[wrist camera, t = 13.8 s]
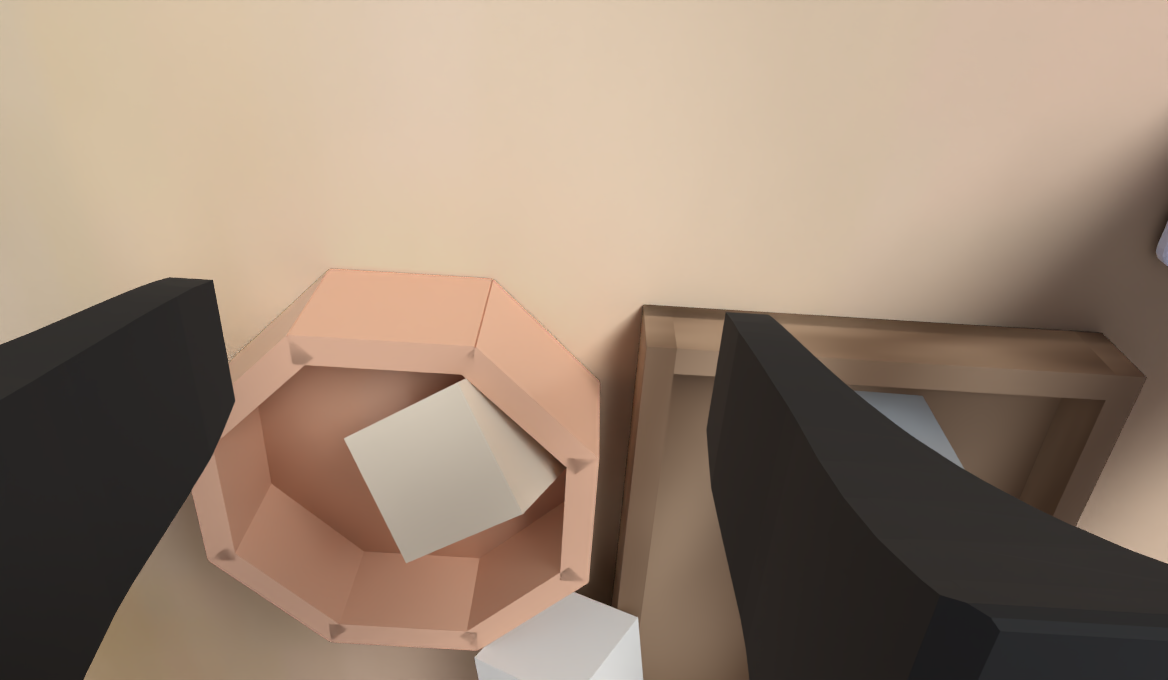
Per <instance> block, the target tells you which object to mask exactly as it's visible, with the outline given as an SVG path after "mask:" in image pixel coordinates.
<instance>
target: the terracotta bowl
mask: <svg viewBox="0 0 1168 680" xmlns="http://www.w3.org/2000/svg"><path fill="white" fill-rule="evenodd" d="M229 369H230V374H231V380H232V385H233V390H234V396H235V403H234V406H233V408H232V411H231V413H230V416H229V418H228V421H227V423H226V426H225V428H224V431H223V433H222V435H221V437H220V440H219V442H218V444H217V446H216V448H215V451H214V453H213V455H212V457H211V459H210V461H209V462H208V464H207V466H206V468H205V469H204V471H203V473H202V474H201V476H200V477H199V479H198V481H197V482H196V484H195V485H194V487H193V489H192V490H191V491H192V495H193V500H194V504H195V508H196V512H197V517H198V521H199V525H200V529H201V534H202V538H203V542H204V546H205V551H206V555H207V559H208V560H209V562H211V563H212V564H214V565H215V566H217V567H218V568H220V569H221V570H223V571H224V572H226V573H227V574H229V575H230V576H232V577H233V578H235V579H236V580H238V581H239V582H241V583H242V584H244V585H245V586H247V587H248V588H250V589H251V590H253V591H254V592H256V593H257V594H259V595H260V596H262V597H263V598H265V599H266V600H268V601H269V602H271V603H272V604H274V605H275V606H277V607H278V608H280V609H281V610H283V611H284V612H286V613H287V614H289V615H290V616H292V617H293V618H295V619H296V620H298V621H299V622H301V623H302V624H304V625H305V626H307V627H308V628H310V629H311V630H313V631H314V632H316V633H317V634H319V635H320V636H322V637H323V638H325V639H326V640H328V641H329V642H330V641H331V642H335V643H352V644H369V645H387V646H404V647H422V648H439V649H456V650H474V651H477V650H480V649H482V648H484V647H485V646H487V645H488V644H490V643H492V642H493V641H495V640H497V639H498V638H500V637H501V636H503V635H505V634H506V633H508V632H509V631H511V630H513V629H514V628H516V627H518V626H519V625H521V624H522V623H524V622H526V621H527V620H529V619H531V618H532V617H534V616H535V615H537V614H539V613H540V612H542V611H544V610H545V609H547V608H548V607H550V606H552V605H553V604H555V603H557V602H558V601H560V600H561V599H563V598H565V597H566V596H568V595H570V594H571V593H573V592H574V591H576V590H578V589H579V588H581V587H583V586H584V585H586V584H587V583H588V582H589V573H590V561H591V550H592V538H593V526H594V515H595V503H596V491H597V480H598V468H599V431H600V381H599V380H598V379H597V378H596V377H595V376H594V375H593V374H592V373H591V372H589V371H588V370H587V369H586V368H585V367H584V366H583V365H582V364H581V363H580V362H579V361H578V360H577V359H576V358H575V357H574V356H573V355H572V354H571V353H570V352H569V351H568V350H567V349H566V348H564V347H563V346H562V345H561V344H560V343H559V342H558V341H557V340H556V339H555V338H554V337H553V336H552V335H551V334H550V333H549V332H548V331H547V330H546V329H545V328H544V327H543V326H542V325H541V324H540V323H538V322H537V321H536V320H535V319H534V318H533V317H532V316H531V315H530V314H529V313H528V312H527V311H526V310H525V309H524V308H523V307H522V306H521V305H520V304H519V303H518V302H517V301H516V300H515V299H513V298H512V297H511V296H510V295H509V294H508V293H507V292H506V291H505V290H504V289H503V288H502V287H501V286H500V285H499V284H498V283H497V282H496V281H495V280H494V279H493V280H492V279H489V278H473V277H457V276H441V275H425V274H409V273H393V272H377V271H360V270H344V269H330V270H328V271H326V272H325V273H324V274H323V275H322V276H321V277H320V278H319V279H318V280H317V281H316V282H315V283H314V284H312V285H311V286H310V287H309V288H308V289H307V290H306V291H305V292H304V293H303V294H302V295H301V296H300V297H298V298H297V299H296V300H295V301H294V302H293V303H292V304H291V305H290V306H289V307H288V308H287V309H286V310H284V311H283V312H282V313H281V314H280V315H279V316H278V317H277V318H276V319H275V320H274V321H273V322H272V323H270V324H269V325H268V326H267V327H266V328H265V329H264V330H263V331H262V332H261V333H260V334H259V335H257V336H256V337H255V338H254V339H253V340H252V341H251V342H250V343H249V344H248V345H247V346H246V347H245V348H243V349H242V350H241V351H240V352H239V353H238V354H237V355H236V356H235V357H234V358H233V359H232V360H231V361H230V363H229ZM464 379H467V380H468V381H469V382H471V383H472V384H473V385H474V386H475V387H476V388H477V389H478V390H480V391H481V392H482V393H483V394H484V395H485V396H486V397H487V398H489V399H490V400H491V401H492V402H493V403H494V404H495V405H497V406H498V407H499V408H500V409H501V410H502V411H503V412H504V413H506V414H507V415H508V416H509V417H510V418H511V419H512V420H514V421H515V422H516V423H517V424H518V425H519V426H520V427H521V428H523V429H524V430H525V431H526V432H527V433H528V434H529V435H530V436H532V437H533V438H534V439H535V440H536V441H537V442H538V443H540V444H541V445H542V446H543V447H544V448H545V449H546V450H547V451H549V452H550V453H551V454H552V455H553V456H554V457H555V458H557V459H558V460H559V461H560V462H561V463H562V464H563V465H564V466H565V467H566V469H565V470H564V471H563V472H562V473H561V474H560V475H559V476H558V477H557V478H556V480H555V481H554V482H553V483H552V484H551V485H550V486H549V487H548V488H547V489H546V490H545V491H544V492H543V493H542V494H541V495H540V496H539V497H538V498H537V500H536V501H535V502H534V503H533V504H532V505H531V506H530V507H529V508H528V509H527V510H526V511H525V512H524V513H523V514H521V515H519V516H517V517H514V518H512V519H510V520H507V521H505V522H502V523H500V524H498V525H495V526H493V527H491V528H488V529H486V530H484V531H481V532H479V533H476V534H474V535H472V536H469V537H467V538H465V539H462V540H460V541H458V542H455V543H453V544H450V545H448V546H446V547H443V548H441V549H439V550H436V551H434V552H432V553H429V554H427V555H424V556H422V557H420V558H417V559H415V560H413V561H410V562H408V563H406V562H405V560H404V558H403V556H402V554H401V552H400V550H399V548H398V546H397V544H396V542H395V540H394V538H393V536H392V534H391V532H390V530H389V528H388V526H387V524H386V522H385V520H384V518H383V516H382V514H381V512H380V510H379V508H378V506H377V504H376V502H375V500H374V498H373V496H372V494H371V492H370V490H369V488H368V486H367V484H366V482H365V480H364V478H363V476H362V474H361V472H360V470H359V468H358V466H357V464H356V462H355V460H354V458H353V456H352V454H351V452H350V450H349V448H348V446H347V444H346V442H345V440H344V438H346V437H348V436H350V435H352V434H354V433H356V432H358V431H360V430H362V429H364V428H366V427H368V426H370V425H372V424H374V423H376V422H378V421H380V420H382V419H384V418H386V417H388V416H390V415H392V414H394V413H396V412H399V411H401V410H403V409H405V408H407V407H409V406H411V405H413V404H415V403H417V402H419V401H421V400H423V399H425V398H427V397H429V396H431V395H433V394H435V393H437V392H439V391H441V390H443V389H445V388H447V387H449V386H451V385H453V384H455V383H457V382H459V381H462V380H464Z"/></svg>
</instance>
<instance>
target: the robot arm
mask: <svg viewBox="0 0 1168 680" xmlns="http://www.w3.org/2000/svg"><path fill="white" fill-rule="evenodd" d="M1156 254H1157V258H1158V259H1159V260H1160V261H1161V262H1163V263H1164V264H1165V265H1167V266H1168V222H1167V224H1166V227H1165V229H1164V231H1163V233H1162V236H1161V238H1160V240H1159V242H1158V245H1157V249H1156ZM234 403H235V396H234V390H233V385H232V380H231V374H230V369H229V364H228V358H227V353H226V348H225V342H224V337H223V332H222V326H221V321H220V316H219V310H218V305H217V300H216V294H215V289H214V284H213V280H203V279H186V278H170V277H169V278H166V279H162V280H158V281H155V282H152V283H149V284H146V285H143V286H141V287H138V288H135V289H133V290H130V291H128V292H125V293H123V294H121V295H118V296H116V297H113V298H111V299H109V300H106V301H104V302H101V303H99V304H97V305H94V306H92V307H90V308H87V309H85V310H83V311H80V312H78V313H76V314H73V315H71V316H69V317H67V318H64V319H62V320H60V321H57V322H55V323H53V324H50V325H48V326H46V327H43V328H41V329H39V330H36V331H34V332H31V333H29V334H26V335H24V336H21V337H19V338H16V339H14V340H11V341H9V342H6V343H4V344H1V345H0V680H83V679H84V677H85V675H86V673H87V671H88V669H89V667H90V665H91V663H92V661H93V658H94V656H95V654H96V652H97V650H98V648H99V646H100V644H101V642H102V640H103V638H104V636H105V634H106V632H107V630H108V628H109V625H110V623H111V621H112V619H113V617H114V615H115V613H116V611H117V610H118V608H119V606H120V604H121V603H122V601H123V599H124V597H125V596H126V594H127V592H128V590H129V589H130V587H131V585H132V583H133V582H134V580H135V579H136V577H137V576H138V574H139V572H140V571H141V569H142V568H143V566H144V565H145V563H146V561H147V560H148V558H149V557H150V555H151V554H152V552H153V550H154V549H155V547H156V546H157V544H158V543H159V541H160V539H161V538H162V536H163V535H164V533H165V532H166V530H167V528H168V527H169V525H170V524H171V522H172V520H173V519H174V517H175V516H176V514H177V513H178V511H179V509H180V508H181V506H182V505H183V503H184V502H185V500H186V498H187V497H188V495H189V494H190V492H191V490H192V489H193V487H194V485H195V484H196V482H197V481H198V479H199V477H200V476H201V474H202V473H203V471H204V469H205V468H206V466H207V464H208V462H209V461H210V459H211V457H212V455H213V453H214V451H215V448H216V446H217V444H218V442H219V440H220V437H221V435H222V433H223V431H224V428H225V426H226V423H227V421H228V418H229V416H230V413H231V411H232V408H233V406H234ZM706 432H707V446H708V459H709V471H710V481H711V490H712V495H713V499H714V504H715V509H716V513H717V518H718V522H719V527H720V531H721V536H722V540H723V545H724V549H725V553H726V558H727V562H728V566H729V571H730V575H731V580H732V584H733V588H734V593H735V597H736V602H737V606H738V610H739V615H740V619H741V625H742V631H743V636H744V642H745V647H746V655H747V664H748V673H749V680H1168V564H1166V563H1164V562H1161V561H1158V560H1155V559H1153V558H1150V557H1147V556H1144V555H1142V554H1139V553H1136V552H1134V551H1131V550H1129V549H1126V548H1124V547H1121V546H1119V545H1117V544H1114V543H1112V542H1110V541H1107V540H1105V539H1103V538H1100V537H1098V536H1096V535H1094V534H1091V533H1089V532H1087V531H1084V530H1082V529H1080V528H1077V527H1075V526H1073V525H1071V524H1068V523H1066V522H1064V521H1062V520H1060V519H1058V518H1056V517H1053V516H1051V515H1049V514H1047V513H1045V512H1043V511H1041V510H1039V509H1037V508H1035V507H1033V506H1031V505H1029V504H1027V503H1025V502H1023V501H1021V500H1019V499H1017V498H1015V497H1014V496H1012V495H1010V494H1008V493H1006V492H1004V491H1002V490H1000V489H999V488H997V487H995V486H993V485H991V484H989V483H987V482H985V481H984V480H982V479H980V478H978V477H977V476H975V475H973V474H971V473H970V472H968V471H966V470H965V469H963V468H961V467H960V466H958V465H956V464H955V463H953V462H952V461H950V460H948V459H947V458H945V457H944V456H942V455H941V454H939V453H938V452H936V451H935V450H933V449H931V448H930V447H928V446H927V445H925V444H924V443H922V442H921V441H919V440H918V439H916V438H915V437H913V436H912V435H910V434H909V433H908V432H906V431H905V430H903V429H902V428H901V427H899V426H898V425H896V424H895V423H894V422H893V421H891V420H890V419H889V418H887V417H886V416H885V415H884V414H882V413H881V412H880V411H878V410H877V409H876V408H875V407H873V406H872V405H871V404H869V403H868V402H867V401H866V400H864V399H863V398H862V397H861V396H860V395H858V394H857V393H856V392H855V391H854V390H852V389H851V388H850V387H849V386H848V385H846V384H845V383H844V382H843V381H842V380H841V379H840V378H838V377H837V376H836V375H835V374H834V373H833V372H832V371H831V370H829V369H828V368H827V367H826V366H825V365H824V364H823V363H822V362H821V361H820V360H818V359H817V358H816V357H815V356H814V355H813V354H812V353H811V352H810V351H809V350H808V349H807V348H806V347H804V346H803V345H802V344H801V343H800V342H799V341H798V340H797V339H796V338H795V337H794V336H793V335H792V334H791V333H790V332H788V331H787V330H786V329H785V328H784V327H783V326H782V325H781V324H780V323H779V322H777V321H776V320H775V319H774V318H773V317H771V316H770V315H768V314H751V313H735V312H726V313H725V319H724V325H723V331H722V337H721V343H720V349H719V355H718V361H717V367H716V374H715V380H714V386H713V392H712V398H711V404H710V410H709V416H708V422H707V428H706Z"/></svg>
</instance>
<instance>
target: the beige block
mask: <svg viewBox="0 0 1168 680" xmlns="http://www.w3.org/2000/svg"><path fill="white" fill-rule="evenodd" d="M344 440H345V442H346V444H347V446H348V448H349V450H350V452H351V454H352V456H353V458H354V460H355V462H356V464H357V466H358V468H359V470H360V472H361V474H362V476H363V478H364V480H365V482H366V484H367V486H368V488H369V490H370V492H371V494H372V496H373V498H374V500H375V502H376V504H377V506H378V508H379V510H380V512H381V514H382V516H383V518H384V520H385V522H386V524H387V526H388V528H389V530H390V532H391V534H392V536H393V538H394V540H395V542H396V544H397V546H398V548H399V550H400V552H401V554H402V556H403V558H404V560H405V562H406V563H408V562H410V561H413V560H415V559H417V558H420V557H422V556H424V555H427V554H429V553H432V552H434V551H436V550H439V549H441V548H443V547H446V546H448V545H450V544H453V543H455V542H458V541H460V540H462V539H465V538H467V537H469V536H472V535H474V534H476V533H479V532H481V531H484V530H486V529H488V528H491V527H493V526H495V525H498V524H500V523H502V522H505V521H507V520H510V519H512V518H514V517H517V516H519V515H521V514H523V513H524V512H525V511H526V510H527V509H528V508H529V507H530V506H531V505H532V504H533V503H534V502H535V501H536V500H537V498H538V497H539V496H540V495H541V494H542V493H543V492H544V491H545V490H546V489H547V488H548V487H549V486H550V485H551V484H552V483H553V482H554V481H555V480H556V478H557V477H558V476H559V475H560V474H561V473H562V472H563V471H564V470H565V469H566V467H565V466H564V465H563V464H562V463H561V462H560V461H559V460H558V459H557V458H555V457H554V456H553V455H552V454H551V453H550V452H549V451H547V450H546V449H545V448H544V447H543V446H542V445H541V444H540V443H538V442H537V441H536V440H535V439H534V438H533V437H532V436H530V435H529V434H528V433H527V432H526V431H525V430H524V429H523V428H521V427H520V426H519V425H518V424H517V423H516V422H515V421H514V420H512V419H511V418H510V417H509V416H508V415H507V414H506V413H504V412H503V411H502V410H501V409H500V408H499V407H498V406H497V405H495V404H494V403H493V402H492V401H491V400H490V399H489V398H487V397H486V396H485V395H484V394H483V393H482V392H481V391H480V390H478V389H477V388H476V387H475V386H474V385H473V384H472V383H471V382H469V381H468V380H467V379H464V380H462V381H459V382H457V383H455V384H453V385H451V386H449V387H447V388H445V389H443V390H441V391H439V392H437V393H435V394H433V395H431V396H429V397H427V398H425V399H423V400H421V401H419V402H417V403H415V404H413V405H411V406H409V407H407V408H405V409H403V410H401V411H399V412H396V413H394V414H392V415H390V416H388V417H386V418H384V419H382V420H380V421H378V422H376V423H374V424H372V425H370V426H368V427H366V428H364V429H362V430H360V431H358V432H356V433H354V434H352V435H350V436H348V437H346V438H344Z"/></svg>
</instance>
